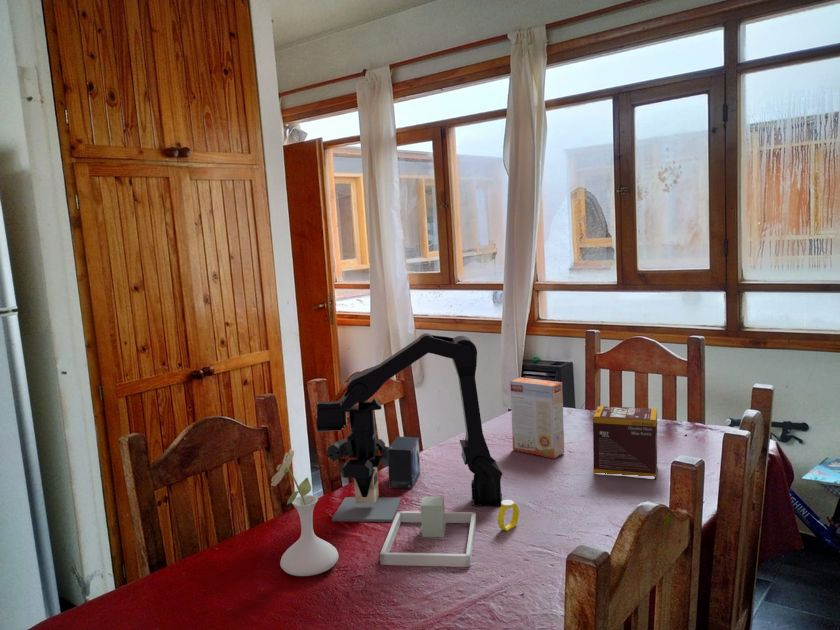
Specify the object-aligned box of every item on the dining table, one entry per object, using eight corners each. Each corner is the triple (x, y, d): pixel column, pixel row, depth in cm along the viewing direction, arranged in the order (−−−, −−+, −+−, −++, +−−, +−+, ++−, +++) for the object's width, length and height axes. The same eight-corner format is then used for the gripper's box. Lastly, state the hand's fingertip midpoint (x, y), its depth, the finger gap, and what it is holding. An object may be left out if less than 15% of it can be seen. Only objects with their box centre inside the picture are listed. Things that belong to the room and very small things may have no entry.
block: (445, 527, 142) (443, 497, 141) (443, 537, 137) (441, 505, 136) (425, 527, 142) (423, 496, 141) (422, 536, 138) (420, 505, 137)
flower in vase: (306, 548, 136) (297, 432, 132) (350, 559, 130) (342, 439, 127) (262, 578, 124) (251, 453, 121) (308, 592, 119) (297, 461, 115)
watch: (506, 536, 137) (504, 510, 136) (495, 532, 139) (493, 506, 138) (522, 523, 141) (520, 498, 140) (511, 520, 143) (509, 495, 142)
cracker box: (565, 453, 183) (563, 381, 181) (554, 460, 179) (552, 386, 176) (523, 444, 193) (521, 375, 190) (512, 450, 188) (509, 380, 186)
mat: (401, 499, 157) (401, 497, 157) (392, 521, 146) (392, 519, 146) (345, 499, 160) (345, 497, 159) (332, 521, 148) (331, 518, 148)
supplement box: (656, 480, 161) (656, 419, 159) (593, 474, 167) (592, 416, 165) (658, 465, 171) (657, 408, 169) (597, 461, 176) (596, 405, 174)
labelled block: (360, 495, 155) (358, 466, 154) (379, 495, 154) (377, 466, 153) (355, 502, 150) (353, 473, 150) (375, 503, 150) (373, 473, 149)
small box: (413, 489, 164) (411, 449, 162) (388, 488, 165) (386, 449, 164) (421, 473, 174) (419, 436, 173) (398, 473, 175) (395, 435, 174)
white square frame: (476, 521, 144) (475, 512, 143) (470, 566, 124) (469, 556, 124) (398, 520, 146) (397, 511, 146) (380, 564, 127) (379, 554, 127)
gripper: (339, 417, 160) (343, 477, 162) (317, 441, 142) (322, 509, 144) (383, 416, 159) (387, 477, 161) (366, 441, 140) (371, 509, 142)
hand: (366, 492), depth 152 cm, fingers closed on labelled block, 4 cm apart
